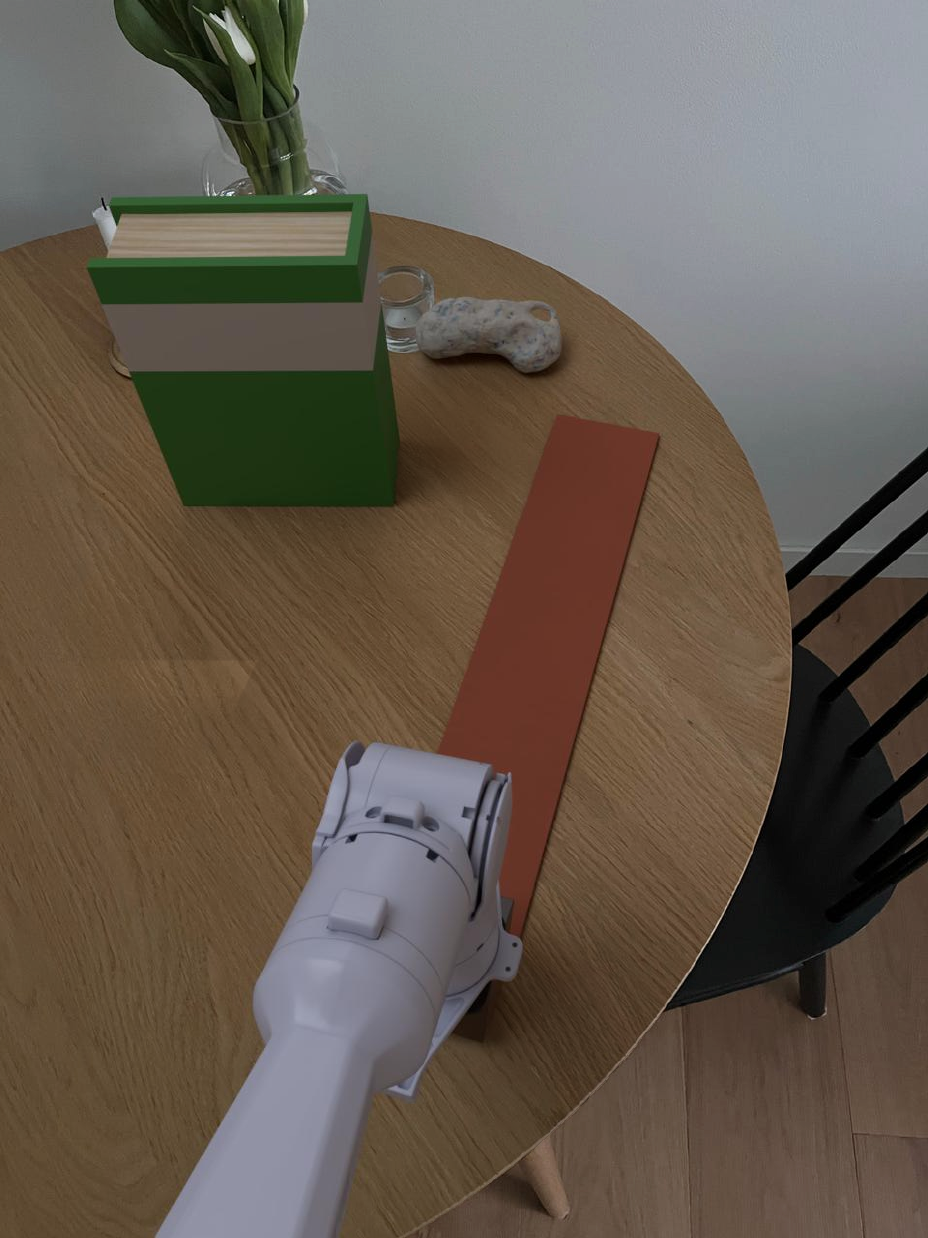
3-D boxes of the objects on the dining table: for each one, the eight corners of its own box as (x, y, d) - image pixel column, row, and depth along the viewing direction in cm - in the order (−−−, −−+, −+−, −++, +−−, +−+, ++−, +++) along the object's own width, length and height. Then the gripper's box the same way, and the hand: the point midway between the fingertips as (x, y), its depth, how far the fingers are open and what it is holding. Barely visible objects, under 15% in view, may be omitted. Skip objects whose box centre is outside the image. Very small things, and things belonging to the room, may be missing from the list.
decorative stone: (414, 381, 96) (409, 338, 91) (417, 331, 99) (413, 286, 95) (562, 379, 95) (564, 335, 91) (559, 328, 99) (561, 283, 94)
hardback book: (183, 505, 89) (86, 267, 69) (199, 440, 93) (111, 197, 73) (393, 506, 88) (356, 264, 68) (399, 440, 92) (367, 193, 72)
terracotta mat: (515, 956, 67) (515, 954, 66) (380, 916, 68) (380, 914, 68) (659, 436, 91) (659, 432, 90) (556, 416, 92) (557, 413, 92)
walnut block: (483, 1044, 62) (494, 961, 58) (412, 1022, 63) (418, 938, 59) (502, 983, 66) (514, 899, 61) (435, 962, 67) (442, 879, 62)
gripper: (472, 1101, 43) (481, 1147, 55) (560, 786, 51) (552, 884, 62) (312, 1048, 45) (353, 1104, 56) (420, 750, 52) (437, 852, 63)
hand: (449, 986), depth 59 cm, fingers closed
